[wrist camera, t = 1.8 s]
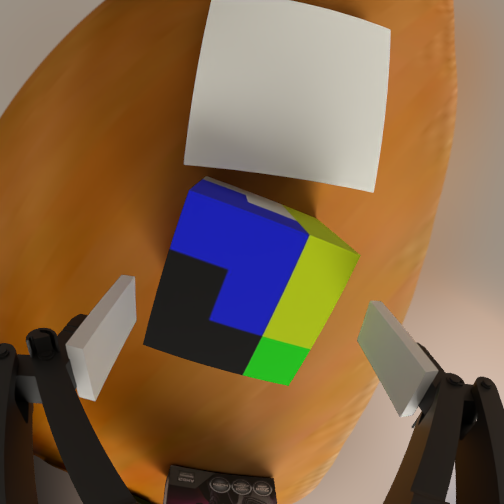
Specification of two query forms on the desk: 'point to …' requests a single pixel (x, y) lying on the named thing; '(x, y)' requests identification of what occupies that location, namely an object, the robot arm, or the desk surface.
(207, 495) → the graphics card box
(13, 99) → the desk surface
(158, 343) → the puzzle toy
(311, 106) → the plinth
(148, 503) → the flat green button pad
